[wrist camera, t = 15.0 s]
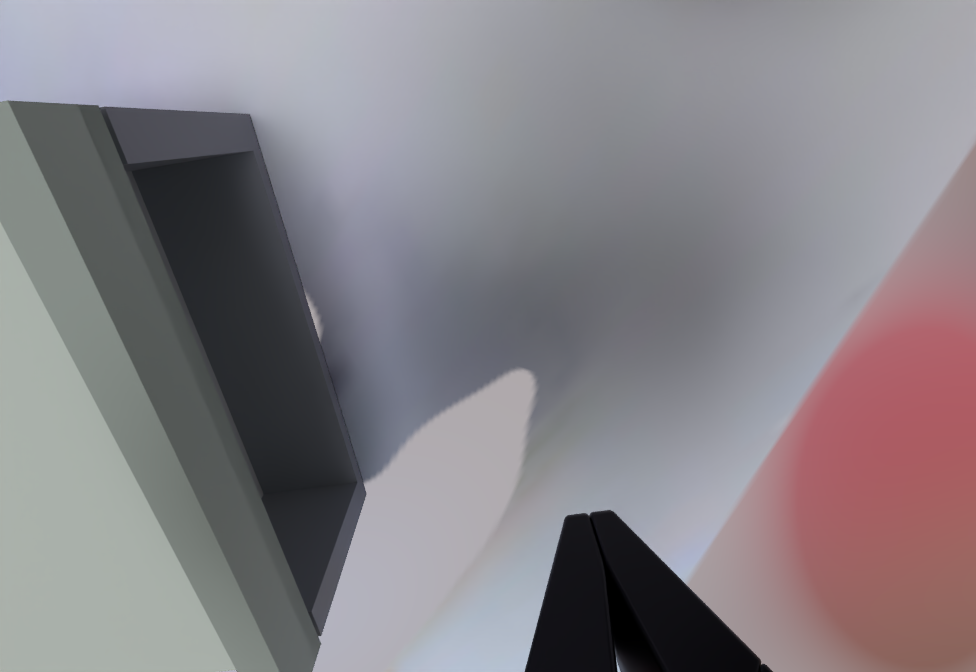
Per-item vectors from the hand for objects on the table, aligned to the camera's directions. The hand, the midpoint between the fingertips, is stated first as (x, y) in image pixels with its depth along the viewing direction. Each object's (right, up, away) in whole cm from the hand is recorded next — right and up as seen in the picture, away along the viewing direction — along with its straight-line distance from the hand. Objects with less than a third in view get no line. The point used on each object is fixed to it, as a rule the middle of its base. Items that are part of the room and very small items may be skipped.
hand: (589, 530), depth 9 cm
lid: (-15, 0, +5) cm, 16 cm away
